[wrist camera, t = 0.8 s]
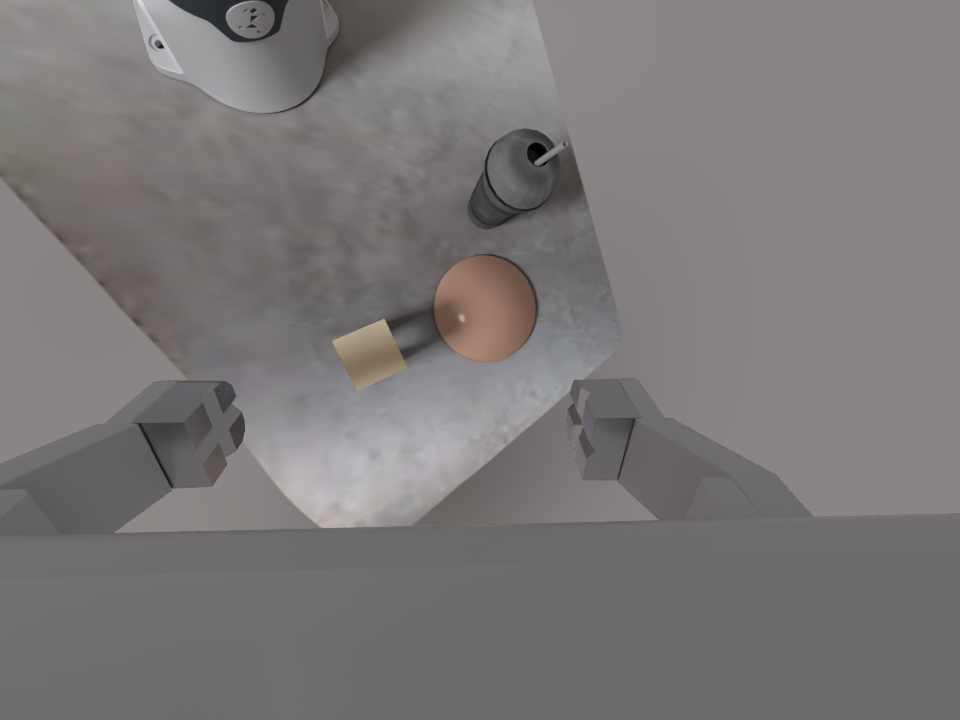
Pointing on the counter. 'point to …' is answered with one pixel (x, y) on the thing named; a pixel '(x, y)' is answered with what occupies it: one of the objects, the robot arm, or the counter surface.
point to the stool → (370, 354)
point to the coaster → (484, 308)
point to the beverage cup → (515, 177)
